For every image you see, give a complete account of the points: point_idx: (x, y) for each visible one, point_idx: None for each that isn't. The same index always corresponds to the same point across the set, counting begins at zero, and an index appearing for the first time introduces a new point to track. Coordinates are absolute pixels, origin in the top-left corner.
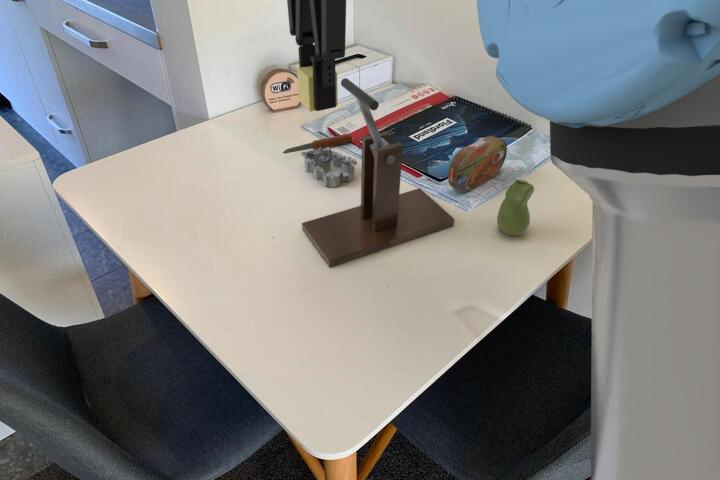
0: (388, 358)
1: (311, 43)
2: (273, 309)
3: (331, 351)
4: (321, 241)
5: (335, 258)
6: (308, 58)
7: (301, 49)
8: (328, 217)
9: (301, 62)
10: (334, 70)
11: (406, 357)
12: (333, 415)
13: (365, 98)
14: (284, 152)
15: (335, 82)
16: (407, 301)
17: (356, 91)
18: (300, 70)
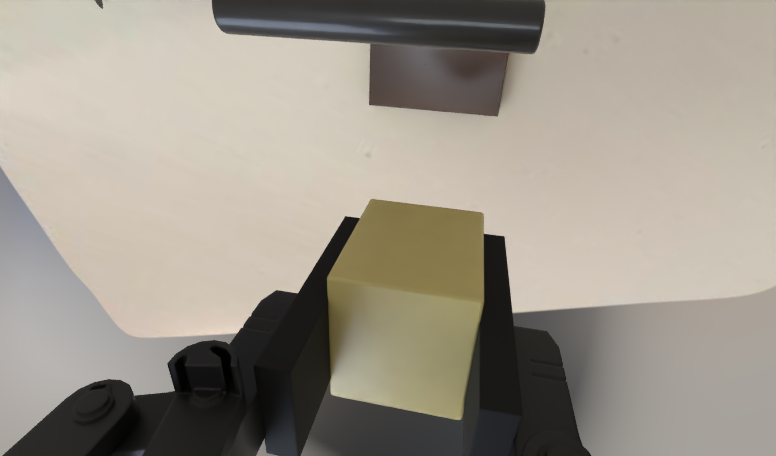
0: (744, 142)
1: (255, 408)
2: (524, 230)
3: (657, 205)
4: (440, 100)
5: (499, 102)
6: (316, 381)
7: (298, 453)
8: (377, 46)
9: (321, 396)
10: (568, 398)
11: (770, 116)
12: (746, 255)
13: (470, 44)
14: (100, 4)
15: (510, 302)
16: (676, 30)
17: (373, 38)
18: (363, 399)
